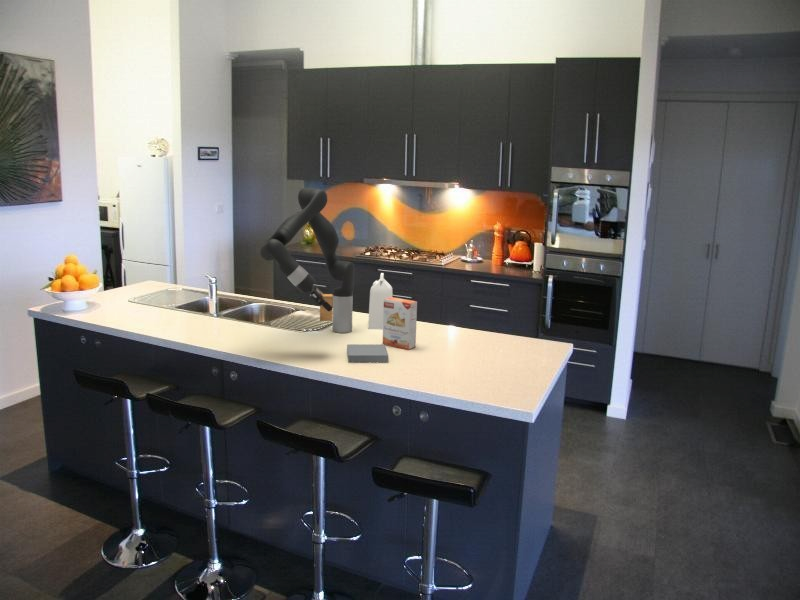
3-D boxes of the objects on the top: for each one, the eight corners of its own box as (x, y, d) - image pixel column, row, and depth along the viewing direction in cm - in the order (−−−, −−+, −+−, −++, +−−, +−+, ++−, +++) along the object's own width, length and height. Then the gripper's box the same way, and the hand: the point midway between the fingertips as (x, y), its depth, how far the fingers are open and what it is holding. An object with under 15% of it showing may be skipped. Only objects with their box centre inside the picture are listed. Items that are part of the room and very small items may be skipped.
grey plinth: (347, 351, 285) (347, 344, 284) (384, 351, 286) (384, 344, 286) (348, 362, 269) (348, 355, 268) (388, 362, 271) (388, 355, 270)
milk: (392, 329, 323) (393, 276, 317) (368, 329, 323) (369, 275, 317) (392, 323, 334) (394, 272, 329) (369, 322, 334) (370, 271, 329)
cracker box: (381, 344, 296) (383, 298, 292) (389, 341, 301) (390, 296, 297) (408, 350, 289) (410, 303, 285) (415, 347, 294) (417, 300, 290)
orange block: (319, 318, 277) (320, 294, 275) (332, 318, 277) (332, 294, 275) (319, 320, 272) (320, 296, 270) (332, 321, 272) (332, 296, 270)
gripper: (307, 275, 263) (337, 306, 267) (308, 269, 277) (337, 298, 281) (293, 289, 263) (324, 319, 267) (295, 282, 277) (324, 310, 281)
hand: (330, 308), depth 274 cm, fingers closed on orange block, 5 cm apart
